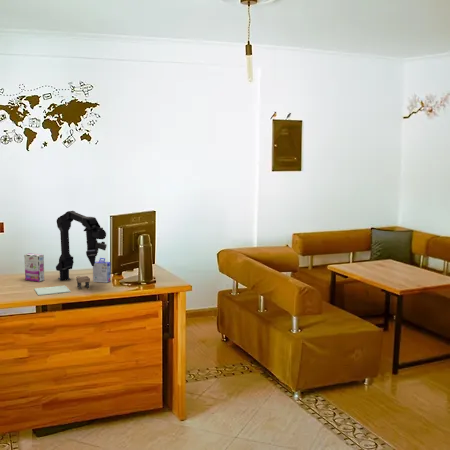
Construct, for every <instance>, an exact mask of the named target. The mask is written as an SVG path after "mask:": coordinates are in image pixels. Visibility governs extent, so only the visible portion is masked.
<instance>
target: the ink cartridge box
mask: <svg viewBox="0 0 450 450" xmlns="http://www.w3.org/2000/svg"><path fill="white" fill-rule="evenodd" d="M111 264H112V263H111V261H106V257H99V259H98V261H96V260H95V264H94V266H92V282H94V283H109V282H111V281H112V275H111V267H112V266H111Z"/></svg>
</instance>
